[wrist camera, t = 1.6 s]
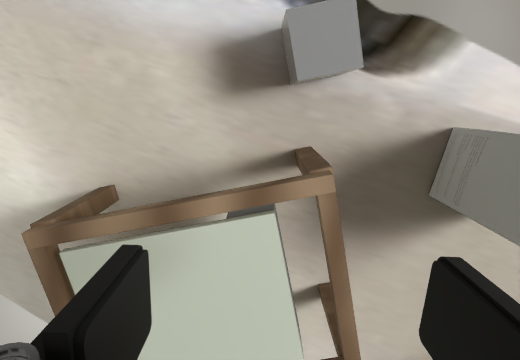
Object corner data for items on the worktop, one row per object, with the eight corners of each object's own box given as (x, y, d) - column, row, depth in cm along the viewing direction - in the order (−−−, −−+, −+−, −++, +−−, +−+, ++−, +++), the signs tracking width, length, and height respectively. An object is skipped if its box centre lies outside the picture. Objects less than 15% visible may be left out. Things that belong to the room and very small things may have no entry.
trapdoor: (272, 190, 26) (274, 213, 21) (298, 322, 29) (306, 370, 24) (98, 223, 27) (58, 253, 22) (141, 348, 30) (115, 400, 25)
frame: (310, 146, 31) (336, 170, 20) (334, 294, 35) (366, 380, 24) (99, 187, 32) (17, 231, 22) (145, 326, 36) (96, 421, 25)
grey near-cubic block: (336, 15, 28) (355, -6, 22) (343, 73, 29) (363, 67, 24) (281, 27, 29) (285, 9, 23) (290, 84, 30) (297, 81, 24)
